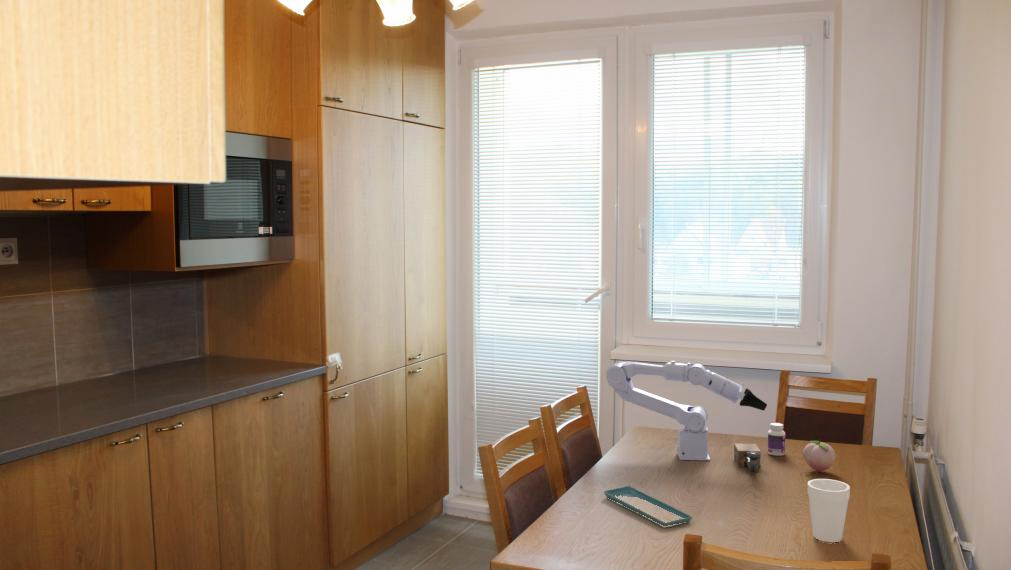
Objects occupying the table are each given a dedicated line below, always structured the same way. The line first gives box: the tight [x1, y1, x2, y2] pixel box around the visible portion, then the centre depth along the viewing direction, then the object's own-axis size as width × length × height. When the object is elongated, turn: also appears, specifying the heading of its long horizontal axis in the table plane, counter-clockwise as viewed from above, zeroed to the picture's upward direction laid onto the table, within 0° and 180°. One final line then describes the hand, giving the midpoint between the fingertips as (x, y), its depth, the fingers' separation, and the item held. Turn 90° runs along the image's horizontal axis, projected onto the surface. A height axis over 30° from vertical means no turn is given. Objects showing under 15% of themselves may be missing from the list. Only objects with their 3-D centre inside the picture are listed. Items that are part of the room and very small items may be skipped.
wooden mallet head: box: [733, 443, 761, 468], centre depth 254 cm, size 7×8×5 cm
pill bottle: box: [767, 422, 786, 457], centre depth 263 cm, size 5×5×10 cm
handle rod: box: [744, 451, 762, 474], centre depth 249 cm, size 4×18×6 cm, turn 173°
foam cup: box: [806, 478, 851, 542], centre depth 194 cm, size 10×9×13 cm
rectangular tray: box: [603, 485, 693, 526], centre depth 214 cm, size 26×9×2 cm, turn 29°
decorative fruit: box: [802, 439, 836, 473], centre depth 244 cm, size 9×8×10 cm
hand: (764, 407), depth 253 cm, fingers open, 7 cm apart
